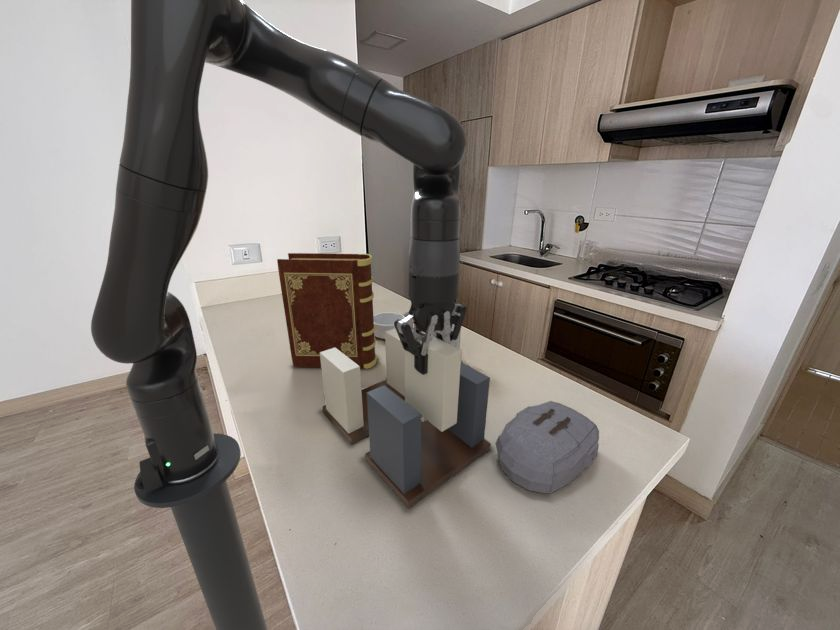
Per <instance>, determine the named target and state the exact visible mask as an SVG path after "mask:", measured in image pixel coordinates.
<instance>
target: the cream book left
mask: <svg viewBox="0 0 840 630" xmlns="http://www.w3.org/2000/svg"><path fill="white" fill-rule="evenodd" d="M320 360H321V368H320V369H321V376H322V386H323V395H324V403H325V405H326V409H327V411H328V412H329V413H330V414H331V415H332V416H333V417H334V418H335V419H336V420H337V422H338V423H339V424H340V425H341V426H342V427H343V428H344V429H345V430H346V431H347V432H348V434H349V433H351V432H353V431H355V430H357V429H359V428H361V427H363V426H364V421H363V406H362V392H361V390H362V379H361V368H360V366H359V365H357V364H356V363H355V362H353V361H352V360H351V359H350V358H348V357H347V356H346V355H344V354H343V353H342V352H341V351H339V350H338V349H337V348H332V349H329V350H325V351H322V352H320Z"/></svg>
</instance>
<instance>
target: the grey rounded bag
mask: <svg viewBox="0 0 840 630" xmlns="http://www.w3.org/2000/svg"><path fill="white" fill-rule="evenodd" d="M599 441H600V430H599V428H598V425H597V424H596V423H595V422H594V421H593V420H591V419H590V418H589V417H588V416H585V415H584V414H582V413H581V412H579V411H578V410H575V409H574V408H571V407H569V406H567V405H565V404H562V403H561V402H556V401H552V400H549V401H545V402H542V403H540V404H537V405H531V406H526V408H523V409H522V410H520V411H519V412H517V413H516V415H515V417H513V418H512V419H511V420H510V421H509V422H507V423H506V424H505V426H504V428H503V430H502V432H501V434H499V436H498V437H497V439H496V441H495V443H494V444H495V448H496V453H497V457H498V462H499V464H500V469H501V470H502V471H503V473H504V474H505V475H506V476H507V477H508V478H509V479H510V480H511V482H513V483H514V484H517V485H518V486H520V487H522V488H524V489H525V490H528V491H530V492H537V493H542V494H543V493H544V494H551V493H553V492H555V491H557V490H560V489H561V488H563V487H564V486H567V485H569V484H570V483H571V482H572V481H574V479H576V478H577V477H578V476H579V475H580V474H581V473H582V472H583V471H584V470H585V469H588V468H589V467H590V466H592V465H593V464H594V463H595V462H594V461H595V460H596V459H597V457H598V452H599V445H600V444H599Z"/></svg>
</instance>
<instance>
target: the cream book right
mask: <svg viewBox="0 0 840 630" xmlns="http://www.w3.org/2000/svg"><path fill="white" fill-rule="evenodd" d="M384 343H385V367H386V369H385V370H386V371H385V372H386V379H387V384H389V385H390V386H391V387H393V388H394V389H395V390H397V391H398V392H399V393H400V394H402V395H403V396H404V397H405V350H404V349H403V346H402V344H401V341H400V339H399V336H398V334H397V331H396V329H392V330H389V331H385V339H384Z"/></svg>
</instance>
